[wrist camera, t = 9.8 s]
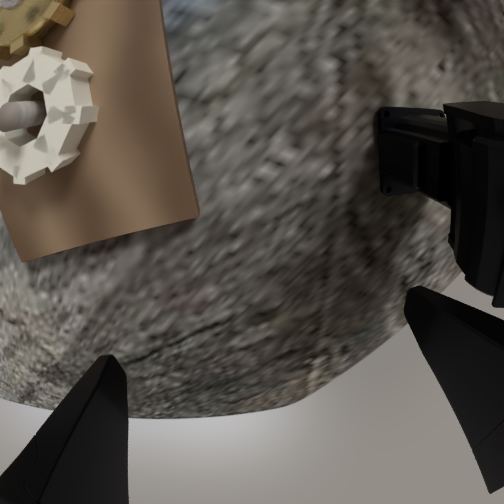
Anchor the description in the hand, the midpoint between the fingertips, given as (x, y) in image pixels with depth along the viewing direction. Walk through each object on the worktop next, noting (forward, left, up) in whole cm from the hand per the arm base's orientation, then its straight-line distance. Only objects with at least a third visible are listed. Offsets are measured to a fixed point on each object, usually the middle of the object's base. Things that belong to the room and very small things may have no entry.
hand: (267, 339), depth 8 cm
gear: (+10, -17, -10) cm, 22 cm away
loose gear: (+10, -9, -10) cm, 17 cm away
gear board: (+9, -11, -12) cm, 19 cm away
